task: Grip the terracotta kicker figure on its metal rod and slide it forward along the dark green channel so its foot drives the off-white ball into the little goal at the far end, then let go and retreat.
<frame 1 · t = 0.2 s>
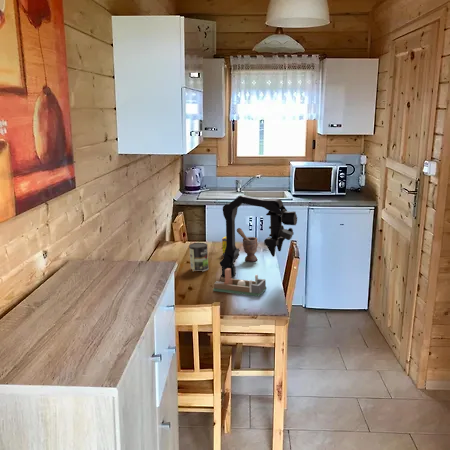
hand: (276, 253, 248), 14 cm above the table, fingers open, 9 cm apart
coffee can: (199, 269, 275), on the table
mortar and pestle: (248, 260, 286), on the table
ball: (241, 284, 240), point 3 cm above the table, touching pitch
supplement box: (228, 254, 300), on the table
pitch: (239, 289, 241), on the table
kicker: (222, 277, 244), point 6 cm above the table, slide at 0.0 cm
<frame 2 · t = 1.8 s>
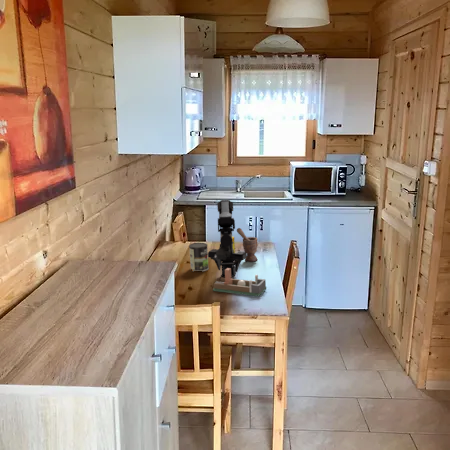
hand: (227, 271, 242), 9 cm above the table, fingers open, 9 cm apart
nothing on the table moved.
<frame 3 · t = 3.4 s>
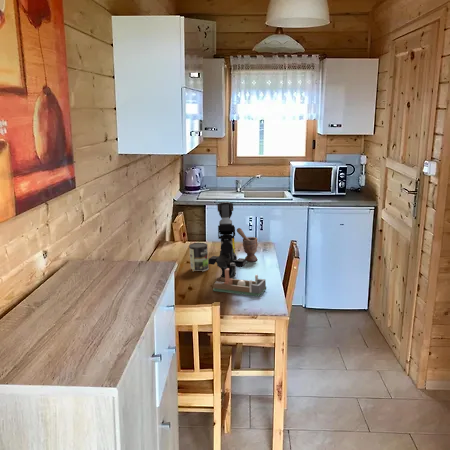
hand: (228, 277, 242), 6 cm above the table, fingers closed on kicker, 2 cm apart
kicker: (222, 277, 244), point 6 cm above the table, slide at 0.0 cm, touching gripper
everything else where it was.
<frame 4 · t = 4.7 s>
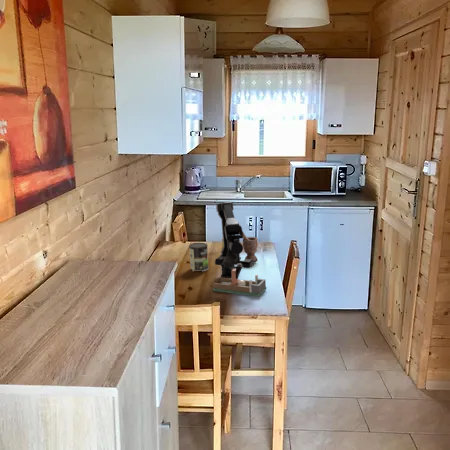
hand: (234, 278, 241), 6 cm above the table, fingers closed on kicker, 2 cm apart
kicker: (229, 277, 242), point 6 cm above the table, slide at 3.6 cm, touching gripper
everything else where it was.
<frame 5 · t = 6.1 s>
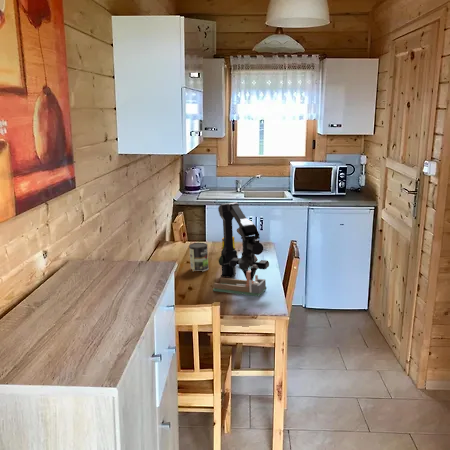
hand: (249, 280, 238), 6 cm above the table, fingers closed on kicker, 2 cm apart
ball: (256, 285, 237), point 3 cm above the table, tilted 140°, touching pitch
kicker: (243, 279, 239), point 6 cm above the table, slide at 11.4 cm, touching gripper
everything else where it was.
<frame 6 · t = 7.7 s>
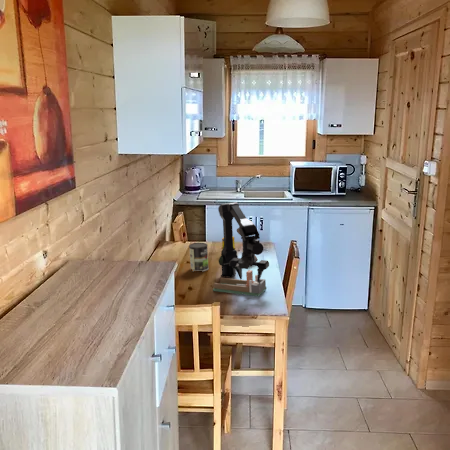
hand: (249, 280, 238), 6 cm above the table, fingers open, 9 cm apart
ball: (255, 285, 237), point 3 cm above the table, tilted 147°, touching pitch
kicker: (244, 279, 239), point 6 cm above the table, slide at 11.5 cm
everything else where it was.
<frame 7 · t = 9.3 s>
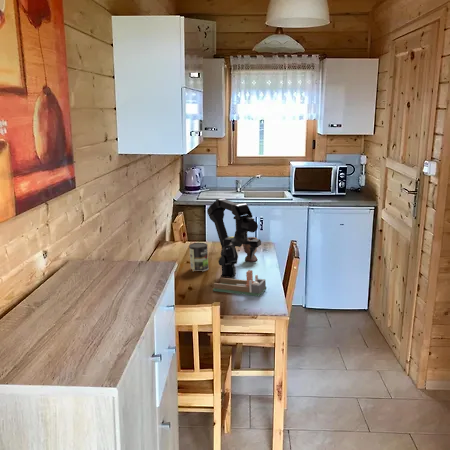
hand: (242, 258, 248), 13 cm above the table, fingers open, 9 cm apart
nothing on the table moved.
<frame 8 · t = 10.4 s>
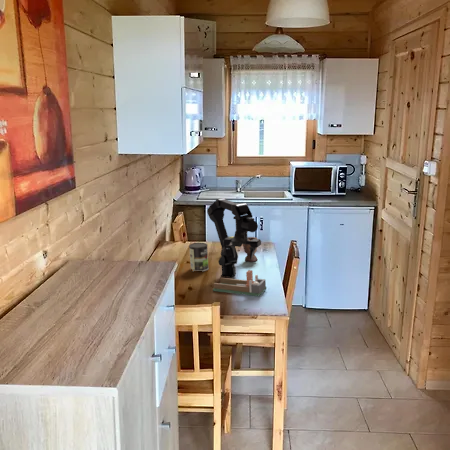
hand: (242, 258, 248), 13 cm above the table, fingers open, 9 cm apart
nothing on the table moved.
at the end: ball 0.3 cm from the target spot, point 3.0 cm above the table; kicker slide at 11.5 cm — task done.
